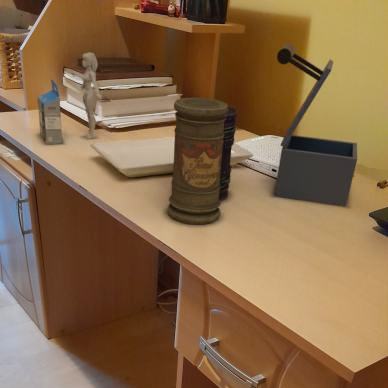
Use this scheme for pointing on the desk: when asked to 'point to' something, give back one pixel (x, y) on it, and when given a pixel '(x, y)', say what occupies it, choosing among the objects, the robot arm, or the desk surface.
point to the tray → (150, 155)
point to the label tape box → (50, 116)
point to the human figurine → (90, 90)
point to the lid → (287, 56)
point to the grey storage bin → (316, 170)
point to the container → (197, 160)
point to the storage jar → (227, 152)
